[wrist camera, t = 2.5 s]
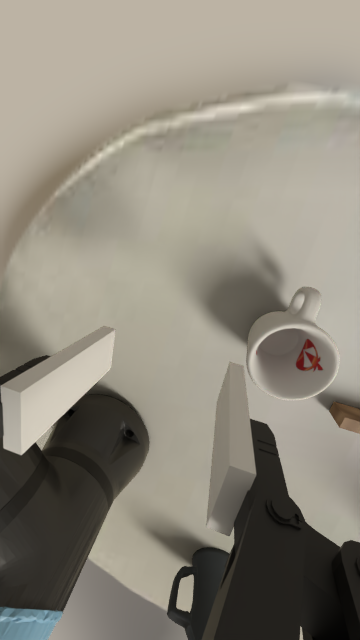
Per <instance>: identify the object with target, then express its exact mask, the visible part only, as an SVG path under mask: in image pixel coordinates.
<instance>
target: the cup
mask: <svg viewBox="0 0 360 640" xmlns="http://www.w3.org/2000/svg"><path fill="white" fill-rule="evenodd" d="M321 301H322V298H321V294H320V292H319V291H318V290H316V289H314V288H311V287H302V288H300V289H299V290H297V292H296V293H295V294H294V296H293V298H292V300H291V303H290V305H289V307H288V310H287V311H285V312H283V311H276V312H270V313H267V314H265V315H263V316H261V317H260V318H258V319H257V320H256V321H255V322H254V324H253V325H252V327H251V329H250V332H249V335H248V346H247V358H246V363H247V369H248V373H249V375H250V377H251V379H252V381H253V382H254V383H255V385H256V386H257V387H258V388H259V389H261V390H262V391H263V392H265V393H266V394H268V395H270V396H272V397H275V398H278V399H283V400H302V399H307V398H310V397H312V396H315V395H317V394H319V393H320V392H322V391H323V390H325V389H326V388H327V387H328V386H329V385H330V384H331V383H332V381H333V380H334V378H335V377H336V375H337V372H338V369H339V362H340V357H339V352H338V348H337V346H336V344H335V342H334V341H333V339H332V338H331V337H330V336H329V335H328V334H327V333H326V332H325V331H324V330H322V329H321V328H319V327H318V326H317V325H316V324H315V319H316V316H317V314H318V312H319V309H320V306H321Z"/></svg>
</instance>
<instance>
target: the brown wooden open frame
mask: <svg viewBox="0 0 360 640" xmlns="http://www.w3.org/2000/svg"><path fill="white" fill-rule="evenodd" d="M329 412H330V413H331V415H332V416H333V418H334V420H335V421H336V423H337V424H338V426H339V428H343V429H346V430H349V431H353V432H356V433H359V434H360V409H358V408H354V407H351V406H347V405H344V404H341V403H337V402H333V404H332V406H331V408H330V410H329Z"/></svg>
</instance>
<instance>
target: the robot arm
mask: <svg viewBox="0 0 360 640" xmlns="http://www.w3.org/2000/svg"><path fill="white" fill-rule="evenodd" d="M115 331H116V329H113V328H110V327H106V326H103V327H101V328H100V329H98V330H96V331H94V332H93V333H91V334H89V335H87V336H86V337H84V338H82V339H81V340H79V341H77V342H75V343H74V344H72V345H70V346H68V347H67V348H65V349H63V350H62V351H60V352H58V353H56V354H55V355H53V356H51V357H50V356H47V355H46V356H42V357H39V358H35V359H33V360H31V361H29V362H27V363H25V364H24V365H22V366H20V367H18V368H16V370H12V371H11V372H9V373H7V374H5V375H3V376H1V377H0V640H48V638H49V636H50V634H51V632H52V631H53V629H54V627H55V625H56V623H57V622H58V621H59V620H60V619H61V617H62V614H63V610H64V608H65V606H66V604H67V601H68V599H69V597H70V595H71V593H72V590H73V588H74V586H75V584H76V582H77V579H78V577H79V575H80V573H81V571H82V568H83V566H84V564H85V562H86V560H87V557H88V555H89V553H90V551H91V549H92V546H93V544H94V542H95V540H96V538H97V535H98V533H99V531H100V529H101V527H102V524H103V522H104V520H105V518H106V515H107V513H108V511H109V509H110V507H111V505H112V503H113V501H114V499H115V498H116V497H117V496H118V495H119V494H120V492H121V491H122V490H123V489H124V488H125V487H126V486H127V485H128V483H129V482H130V481H131V480H132V479H133V478H134V477H135V476H136V474H137V473H138V472H139V471H140V469H141V467H142V466H143V463H144V461H145V459H146V456H147V454H148V450H149V436H148V432H147V430H146V427H145V425H144V423H143V422H142V420H141V419H140V417H139V416H138V415H137V414H136V413H135V412H134V411H133V410H132V409H131V408H130V407H128V406H127V405H126V404H124V403H123V402H121V401H119V400H117V399H115V398H112V397H109V396H105V395H99V394H91V395H85V396H83V395H84V394H85V393H86V392H87V391H88V390H89V389H90V388H91V387H92V386H93V385H94V384H96V383H97V382H98V381H99V380H100V379H101V378H102V377H103V376H104V375H105V374H106V373H107V372H108V371H109V370H110V369H111V362H112V355H113V347H114V339H115ZM57 420H58V421H57ZM56 421H57V422H56ZM55 422H56V424H55V426H54V428H53V430H52V432H51V434H50V436H49V438H48V440H47V442H46V444H45V446H44V448H43V449H42V451H41V450H40V448H39V447H38V445H37V444H36V441H37V440H38V439H39V438H40V437H41V436H42V435H43V434H44V433H45V432H46V431H47V430H48V429H49V428H50V427H51V426H52V425H53V424H54V423H55ZM276 446H277V445H276V441H275V437H274V434H273V433H272V431H271V430H270V428H269V427H268V425H267V424H265V423H262V422H258V421H255V420H252V419H250V417H249V409H248V401H247V392H246V384H245V375H244V367H243V366H242V365H239V364H235V363H232V362H230V363H229V366H228V369H227V372H226V375H225V378H224V382H223V385H222V388H221V391H220V394H219V397H218V401H217V408H216V420H215V431H214V443H213V454H212V466H211V478H210V489H209V501H208V512H207V524H206V527H207V528H209V529H212V530H215V531H217V532H220V533H222V534H225V535H227V536H230V534H231V532H232V530H233V527H234V545H233V548H232V550H231V552H230V554H229V556H228V559H227V561H226V563H225V565H224V567H225V570H224V574H223V577H222V580H221V583H220V586H219V589H218V592H217V595H216V598H215V601H214V604H213V607H212V610H211V613H210V616H209V619H208V622H207V625H206V628H205V631H204V634H203V637H202V640H299V639H300V626H301V627H302V632H303V640H360V543H359V542H356V541H352V540H351V541H347V542H344V543H343V545H342V546H341V547H339V546H338V545H336V544H335V543H333V542H332V541H330V540H329V539H327V538H326V537H324V536H323V535H322V534H320V533H319V532H317V531H316V530H315V529H313V528H312V527H311V526H309V525H308V524H307V523H306V522H305V519H304V517H303V515H302V513H301V510H300V509H299V507H298V506H297V505H296V504H295V502H294V501H293V500H292V499H291V498H290V497H289V495H288V491H287V487H286V483H285V478H284V474H283V470H282V466H281V462H280V458H279V454H278V450H277V448H276Z"/></svg>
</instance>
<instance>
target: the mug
mask: <svg viewBox="0 0 360 640" xmlns="http://www.w3.org/2000/svg"><path fill="white" fill-rule="evenodd" d="M228 556H229V553H228V552H226V551H223V550H220V549H217V548H202V549H200V550H197V551H196V552H195V553H194V555H193V559H192V562H193V567H187V566H184V567H182V568H181V569H180V570H179V571H178V573H177V575H176V576H175V579H174V581H173V585H172V590H171V594H170V600H169V605H168V612H167V615H168V617H169V618H170V619H171V620H172V621H174V622H175V623H177V624H179V625H180V626H182V627H184V628H185V631H186V635H187V637H188V640H202V637H203V634H204V631H205V628H206V625H207V622H208V619H209V616H210V613H211V610H212V607H213V604H214V601H215V598H216V595H217V592H218V589H219V586H220V583H221V580H222V577H223V574H224V570H225V567H224V565H225V563H226V561H227V559H228ZM192 574H193V575H194V589H193V603H192V608H191V611H190V613H189V612H188V611H182V610H180V609H177V608H176V602H177V594H178V588H179V583H180V580H181V578H183V577H187V576H189V575H192Z"/></svg>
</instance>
